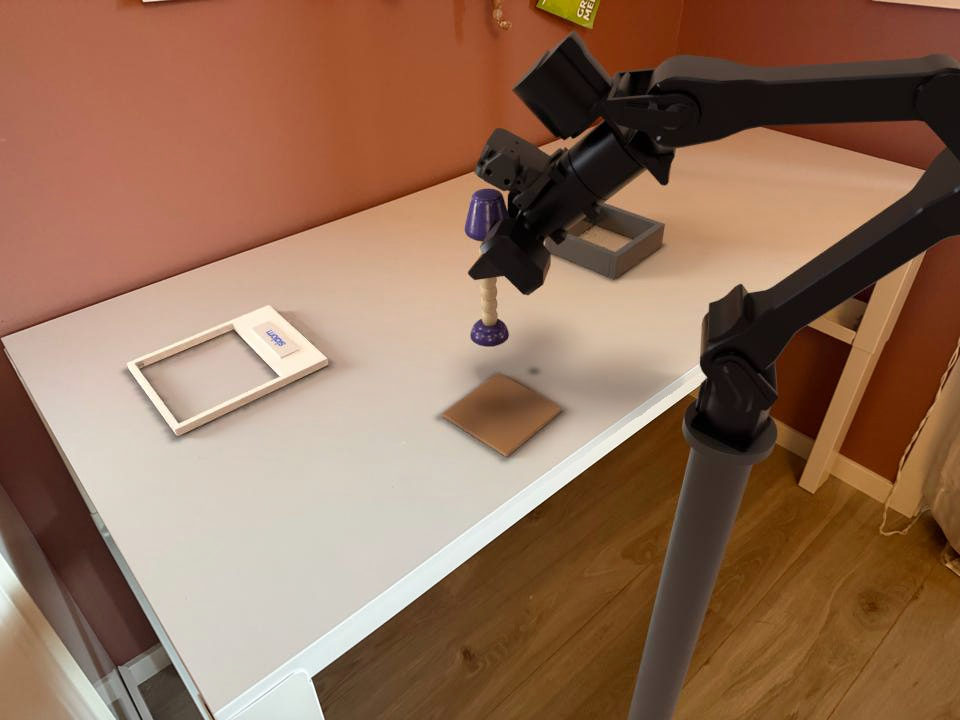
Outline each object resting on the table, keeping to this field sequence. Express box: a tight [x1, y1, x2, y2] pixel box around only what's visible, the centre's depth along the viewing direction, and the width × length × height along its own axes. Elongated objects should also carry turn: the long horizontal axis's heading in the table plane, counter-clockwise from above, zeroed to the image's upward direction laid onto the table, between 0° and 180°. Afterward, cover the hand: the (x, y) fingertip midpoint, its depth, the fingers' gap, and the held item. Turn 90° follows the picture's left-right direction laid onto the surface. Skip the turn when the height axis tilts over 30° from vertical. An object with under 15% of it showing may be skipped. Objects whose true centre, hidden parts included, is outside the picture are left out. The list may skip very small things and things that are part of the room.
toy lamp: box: [464, 188, 510, 348], centre depth 74 cm, size 5×5×17 cm
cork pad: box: [442, 372, 563, 458], centre depth 76 cm, size 9×9×1 cm
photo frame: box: [126, 304, 329, 437], centre depth 83 cm, size 15×1×18 cm
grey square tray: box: [544, 202, 666, 280], centre depth 102 cm, size 12×12×4 cm
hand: (476, 265), depth 74 cm, fingers closed on toy lamp, 4 cm apart
